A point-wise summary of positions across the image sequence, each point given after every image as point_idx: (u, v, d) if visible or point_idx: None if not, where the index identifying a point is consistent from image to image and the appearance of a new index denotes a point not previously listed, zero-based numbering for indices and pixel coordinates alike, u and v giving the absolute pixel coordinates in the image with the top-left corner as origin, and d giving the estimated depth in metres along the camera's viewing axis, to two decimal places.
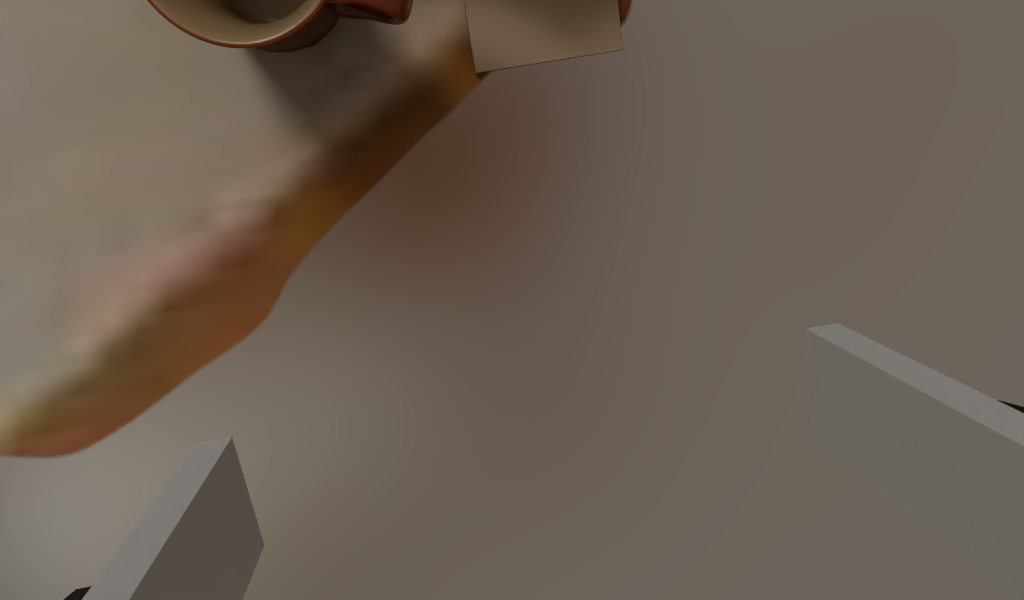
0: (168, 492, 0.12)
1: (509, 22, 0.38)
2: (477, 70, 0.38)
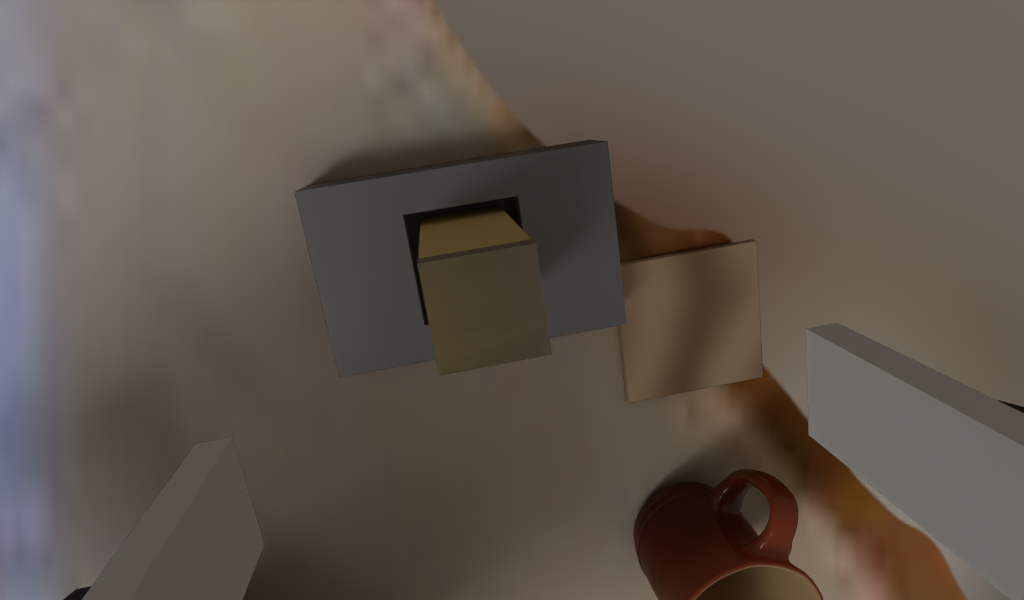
0: (168, 492, 0.12)
1: (724, 348, 0.41)
2: (761, 375, 0.42)
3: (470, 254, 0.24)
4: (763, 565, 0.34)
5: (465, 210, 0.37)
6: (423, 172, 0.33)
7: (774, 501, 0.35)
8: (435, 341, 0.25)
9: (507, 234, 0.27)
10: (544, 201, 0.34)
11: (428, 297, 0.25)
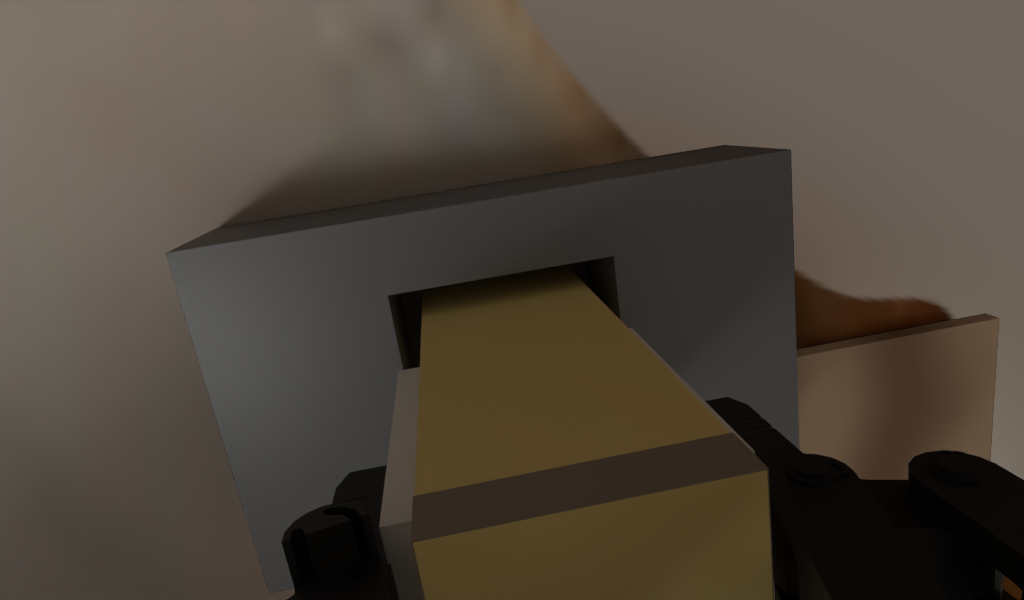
0: (402, 402, 0.14)
1: None
2: None
3: (572, 504, 0.08)
4: None
5: None
6: (428, 212, 0.16)
7: None
8: None
9: (638, 387, 0.11)
10: (663, 265, 0.17)
11: None
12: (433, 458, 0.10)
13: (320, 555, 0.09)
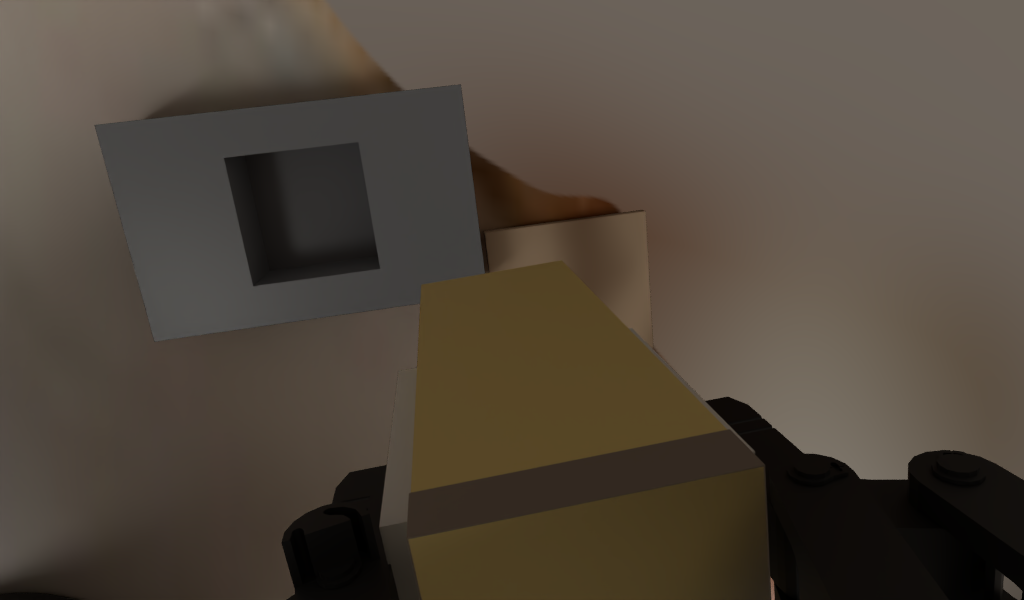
0: (402, 402, 0.14)
1: None
2: None
3: (568, 501, 0.08)
4: None
5: None
6: (246, 109, 0.29)
7: None
8: None
9: (635, 385, 0.11)
10: (389, 149, 0.30)
11: None
12: (429, 455, 0.10)
13: (321, 554, 0.09)
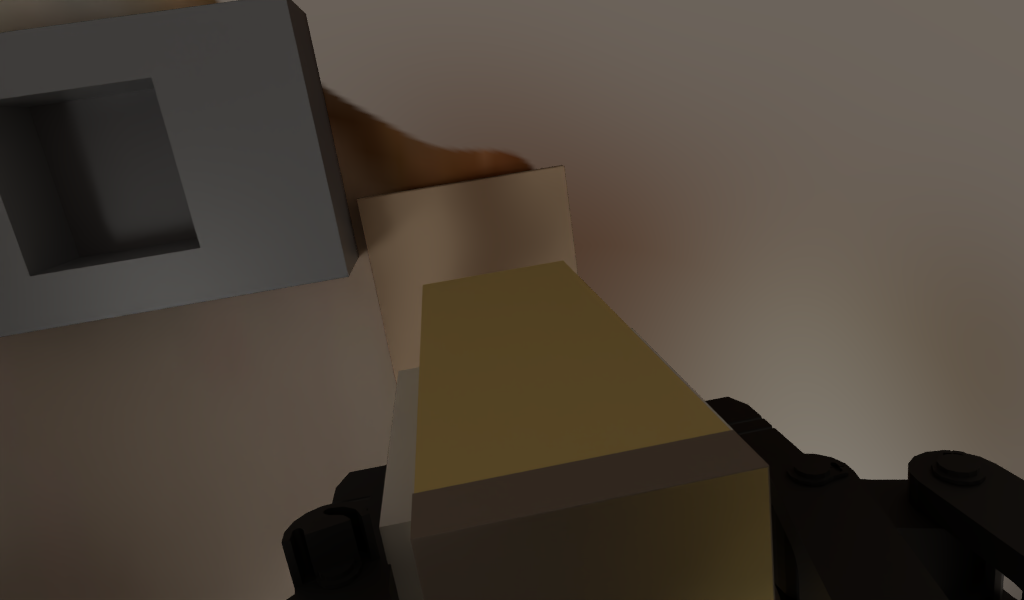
0: (402, 402, 0.14)
1: None
2: None
3: (572, 501, 0.08)
4: None
5: None
6: None
7: None
8: None
9: (638, 385, 0.11)
10: (195, 86, 0.22)
11: None
12: (433, 456, 0.10)
13: (321, 555, 0.09)
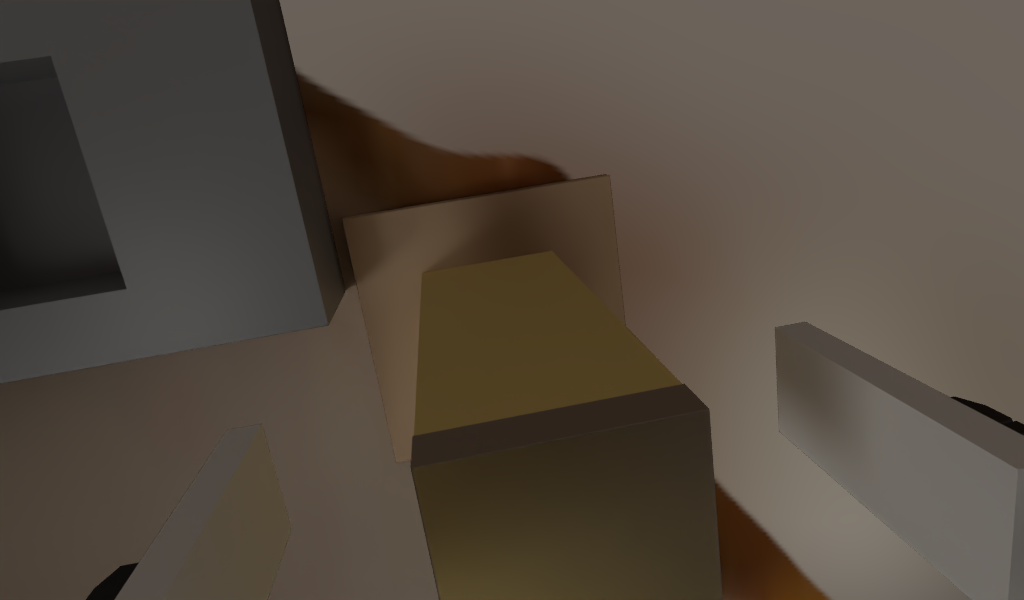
0: (205, 475, 0.12)
1: None
2: None
3: (544, 438, 0.10)
4: None
5: (496, 260, 0.22)
6: None
7: None
8: None
9: (608, 352, 0.13)
10: (112, 69, 0.16)
11: (438, 543, 0.10)
12: (430, 408, 0.11)
13: None
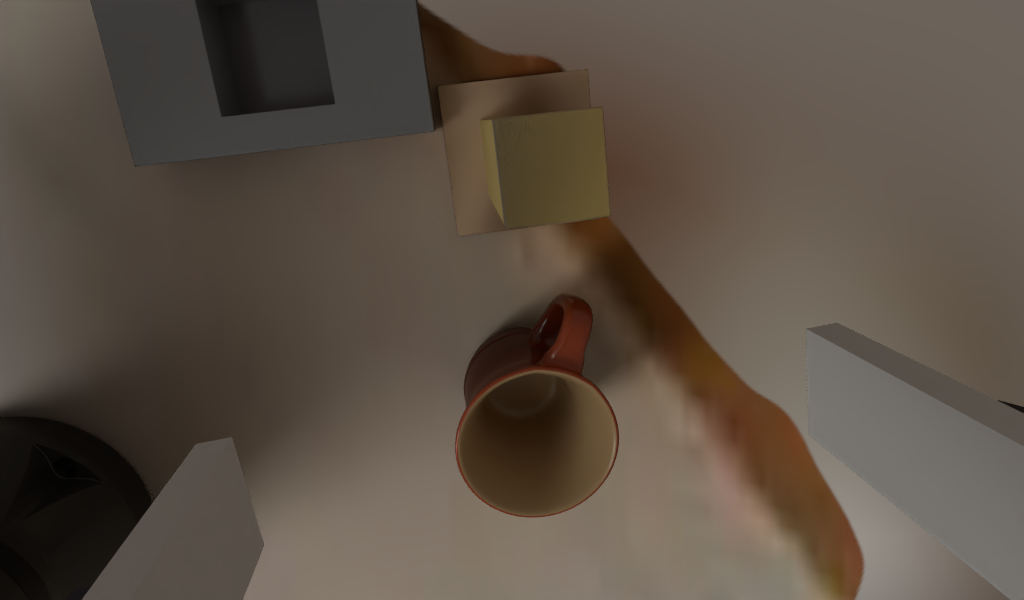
0: (168, 492, 0.12)
1: None
2: None
3: (542, 114, 0.27)
4: (547, 370, 0.33)
5: None
6: None
7: (567, 310, 0.34)
8: (504, 195, 0.27)
9: None
10: None
11: (501, 152, 0.27)
12: None
13: None
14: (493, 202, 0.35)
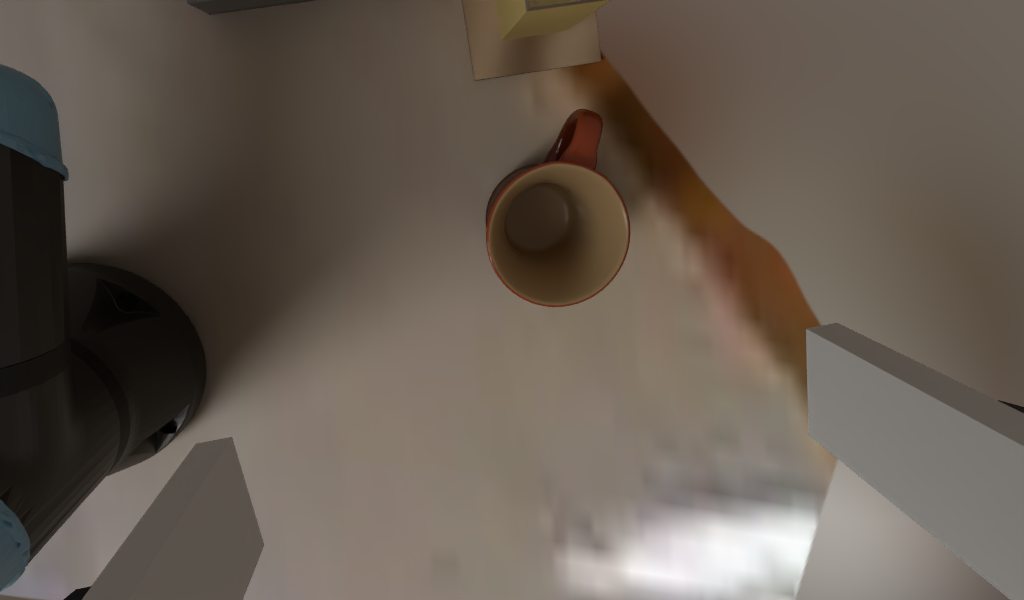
0: (168, 492, 0.12)
1: None
2: (599, 59, 0.46)
3: None
4: (565, 164, 0.38)
5: None
6: None
7: (580, 114, 0.38)
8: None
9: None
10: None
11: None
12: None
13: None
14: (509, 28, 0.40)
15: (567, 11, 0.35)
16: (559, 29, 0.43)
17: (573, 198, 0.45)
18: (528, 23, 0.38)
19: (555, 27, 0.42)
